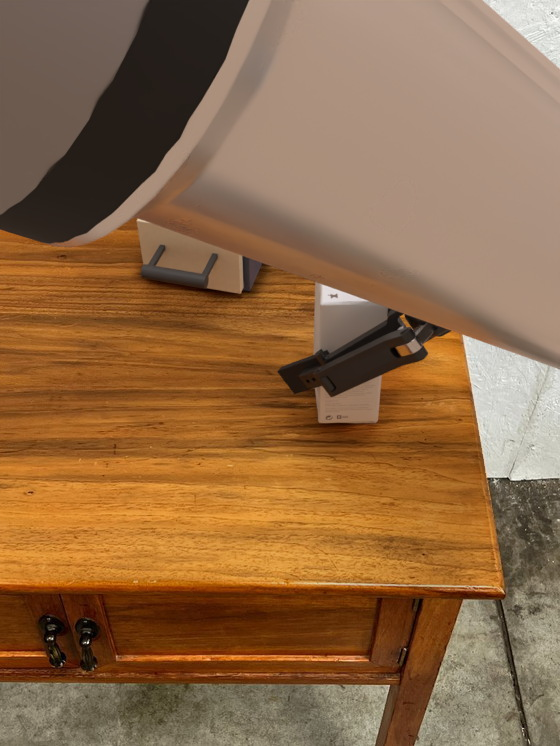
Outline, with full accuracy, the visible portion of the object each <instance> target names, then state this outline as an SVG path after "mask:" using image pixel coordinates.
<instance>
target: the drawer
mask: <svg viewBox="0 0 560 746" xmlns="http://www.w3.org/2000/svg"><path fill="white" fill-rule="evenodd" d="M136 228H137V233H138V241H139V246H140V253H141V260H142V264H143V265H141V269H140V277H141V279H145V280H151V281H155V282H156V281H158V282H162V283H168V284H175V285H180V286H185V287H192V288H198V289H204V290H206V289H209V290H214V291H215V290H216V291H221V292H227V293H234V294H239V295H241V294H242V291H244V290H243V260H242V256H241V255H239V254H236V253H233V252H230V251H227V250H225V249H222V248H219V247H216V246H213V245H211V244H208V243H205V242H202V241H200V240H197V239H194V238H191V237H188V236H186V235H183V234H180V233H177V232H174V231H172V230H169V229H166V228H163V227H160V226H158V225H155V224H152V223H149V222H146V221H144V220H141V219H138V218H136Z"/></svg>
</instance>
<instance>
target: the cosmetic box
mask: <svg viewBox="0 0 560 746" xmlns="http://www.w3.org/2000/svg"><path fill="white" fill-rule="evenodd" d="M387 314H388V308H387V307H384V306H381V305H378V304H376V303H373V302H370V301H367V300H364V299H362V298H359V297H356V296H353V295H350V294H348V293H345V292H342V291H339V290H336V289H334V288H331V287H328V286H325V285H322V284H320V283H317V282H314V316H313V317H314V318H313V355H315V353H316V352H317V351H319V350H320V349H322V350H323V351H325V350H328V352H329V353H332V352H333V351H335V350H337V349H338V348H340V347H342V346H343V345H345V344H347V343H348V342H350V341H352V340H353V339H355V338H357V337H358V336H360V335H362V334H364V333H365V332H367V331H369V330H370V329H372V328H374V327H375V326H377V325H379V324H380V323H382V322H384V321H385V320H387V317H388V316H387ZM382 378H383V375H380V376H378V377H376V378H374V379H372V380H369V381H367V382H365V383H363V384H361V385H358V386H356V387H354V388H352V389H349V390H347V391H345V392H343V393H341V394H338V395H337V396H334V397H330V396H329V394H328V393H327V392H326V391H325V389H324V388H323V387H322V386H320V387H316V388H314V393H315V403H316V409H317V423H319V424H337V423H338V424H340V423H341V424H376V423H377V422H378V421H379V413H380V403H381V402H380V399H381V389H382Z"/></svg>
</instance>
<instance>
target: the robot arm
mask: <svg viewBox="0 0 560 746" xmlns="http://www.w3.org/2000/svg"><path fill="white" fill-rule="evenodd" d="M133 219H141V220H144V221H146V222H149V223H152V224H155V225H158V226H160V227H163V228H166V229H169V230H172V231H174V232H177V233H180V234H183V235H186V236H188V237H191V238H194V239H197V240H200V241H202V242H205V243H208V244H211V245H213V246H216V247H219V248H222V249H225V250H227V251H230V252H233V253H236V254H239V255H241V256H244V257H247V258H250V259H253V260H255V261H258V262H261V263H262V264H264V265H267V266H270V267H272V268H274V269H278V270H281V271H283V272H285V273H289V274H292V275H295V276H297V277H300V278H303V279H306V280H308V281H311V282H314V283H315V282H317V283H320V284H322V285H325V286H328V287H331V288H334V289H336V290H339V291H342V292H345V293H348V294H350V295H353V296H356V297H359V298H362V299H364V300H367V301H370V302H373V303H376V304H378V305H381V306H384V307H387V308H388V314H387V320H385V321H384V322H382V323H380V324H379V325H377V326H375V327H374V328H372V329H370V330H369V331H367V332H365V333H364V334H362V335H360V336H358V337H357V338H355V339H353V340H352V341H350V342H348V343H347V344H345V345H343V346H342V347H340V348H338V349H337V350H335V351H333V352H332V353H329V352H328V350H325V351H323V350H322V349H320V350H319V351H317V352H316V353H315V355H314V354H311V355H309V356H306V357H304V358H301V359H299V360H295V361H293V362H290V363H288V364H285V365H281V367H280V368H279V369H277V370H276V372H277V374H278V375H279V376H280V378H281V379H282V380H283V381H284V383H285V384H286V386H287V387H288V388H289V390H290V391H291V392H292V393H293V395H297V394H301V393H304V392H306V391H310V390H313V389H315V388H316V387H320V386H322V387H323V388H324V389H325V391H326V392H327V393H328V394H329V396H330V397H334V396H337V395H338V394H341V393H343V392H345V391H347V390H349V389H352V388H354V387H356V386H358V385H361V384H363V383H365V382H367V381H369V380H372V379H374V378H376V377H378V376H380V375H382V376H383V375H385V374H387V373H389V372H391V371H394V370H396V369H398V368H401V367H402V366H406V365H410V364H411V365H412V364H415V363H418V362H421V361H423V360H425V359H426V357H427V356H428V355H429V351H428V350H427V348H426V347H425V343H427V342H429V341H430V340H432V339H434V338H441V337H444V336H445V335H447V334H449V333H451V332H454V333H457V334H459V335H462V336H464V337H468V338H470V339H473V340H477V341H480V342H482V343H485V344H487V345H490V346H493V347H496V348H499V349H502V350H503V351H506V352H510V353H513V354H515V355H519V356H521V357H524V358H526V359H529V360H532V361H535V362H538V363H541V364H543V365H546V366H549V367H551V368H555V369H557V370H560V67H559V66H558V65H556V63H554V62H553V61H552V60H551V59H549V58H548V57H547V56H546V54H544V53H543V52H542V51H541V50H539V49H538V48H537V47H536V46H535V45H533V44H532V42H530V41H529V40H528V39H527V38H526V37H525V36H524V35H522V34H521V33H520V32H519V31H518V30H517V29H516V28H514V26H512V25H511V24H510V23H509V22H508V21H507V20H506V19H505V18H504V17H502V16H501V15H500V14H499V13H498V12H497V11H496V10H495V9H493V8H492V7H491V6H490V5H489V4H488V3H487V2H485V1H484V0H0V231H3V232H6V233H10V234H13V235H16V236H18V237H19V236H20V237H22V238H26V239H28V240H32V241H36V242H39V243H41V244H46V245H48V246H52V247H58V248H69V249H71V248H75V247H76V248H77V247H80V246H85V245H88V244H90V243H93V242H95V241H98V240H100V239H102V238H104V237H106V236H109V235H110V234H111V233H113V232H115V231H117V229H119V228H121V226H124V225H125V224H126V223H128V222H130V221H131V220H133ZM403 315H404V319H405V320H406V322H407V323H408V325H409V326H407V325H406V324H405V322H404V320H402V318H401V317H402V316H403Z"/></svg>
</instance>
